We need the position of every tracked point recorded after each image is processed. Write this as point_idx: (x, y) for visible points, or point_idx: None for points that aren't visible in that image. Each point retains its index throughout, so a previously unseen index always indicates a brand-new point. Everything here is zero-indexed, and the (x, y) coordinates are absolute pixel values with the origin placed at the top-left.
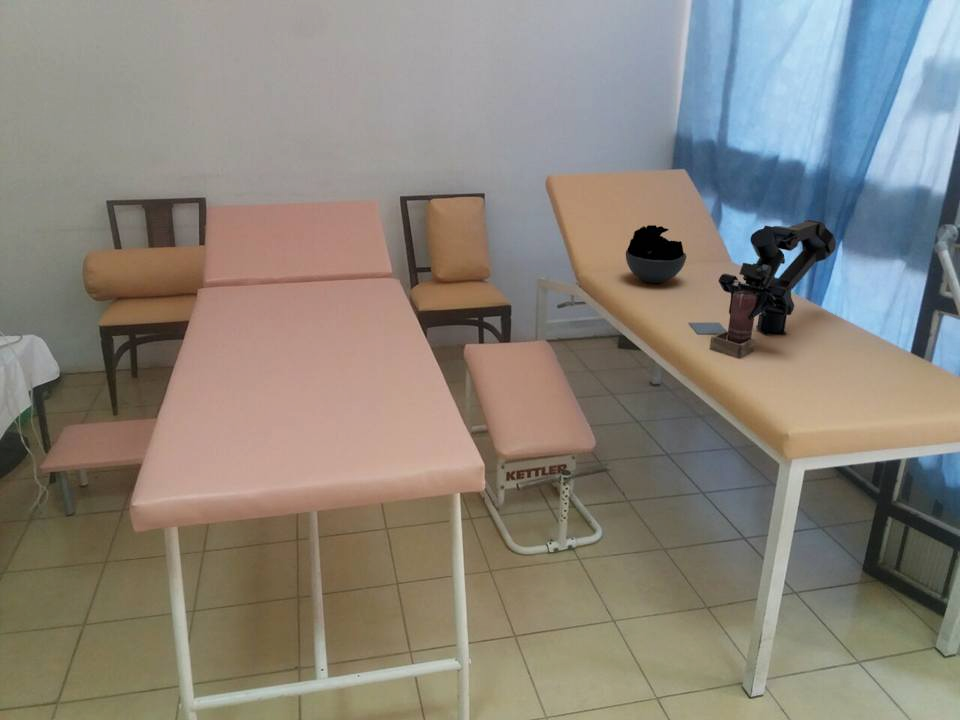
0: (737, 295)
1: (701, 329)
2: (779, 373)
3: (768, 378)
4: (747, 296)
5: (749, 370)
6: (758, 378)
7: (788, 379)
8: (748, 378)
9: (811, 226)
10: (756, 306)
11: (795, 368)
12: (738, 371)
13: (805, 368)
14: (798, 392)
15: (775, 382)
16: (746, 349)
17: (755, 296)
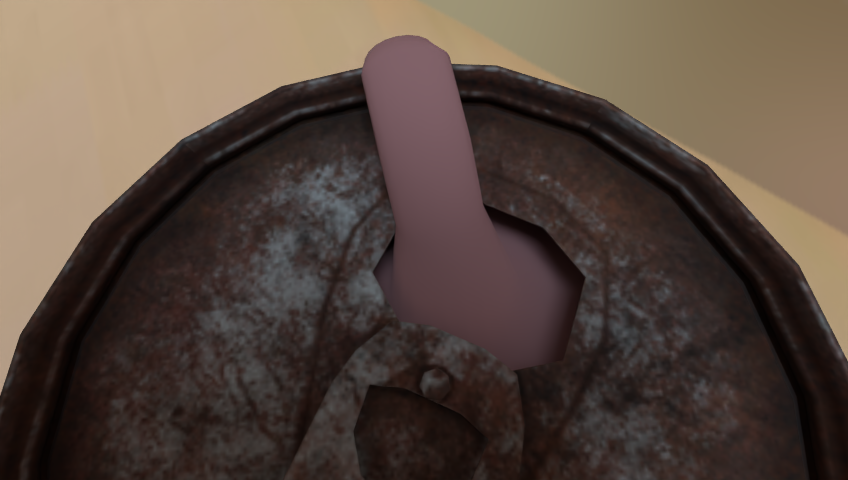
0: (547, 108)
1: None
2: (119, 157)
3: (153, 69)
4: (237, 132)
5: (256, 95)
6: (193, 41)
7: (67, 118)
8: (231, 13)
9: None
10: None
11: (55, 278)
12: (295, 51)
13: (4, 318)
14: (9, 22)
15: (115, 50)
16: None
17: (39, 395)
